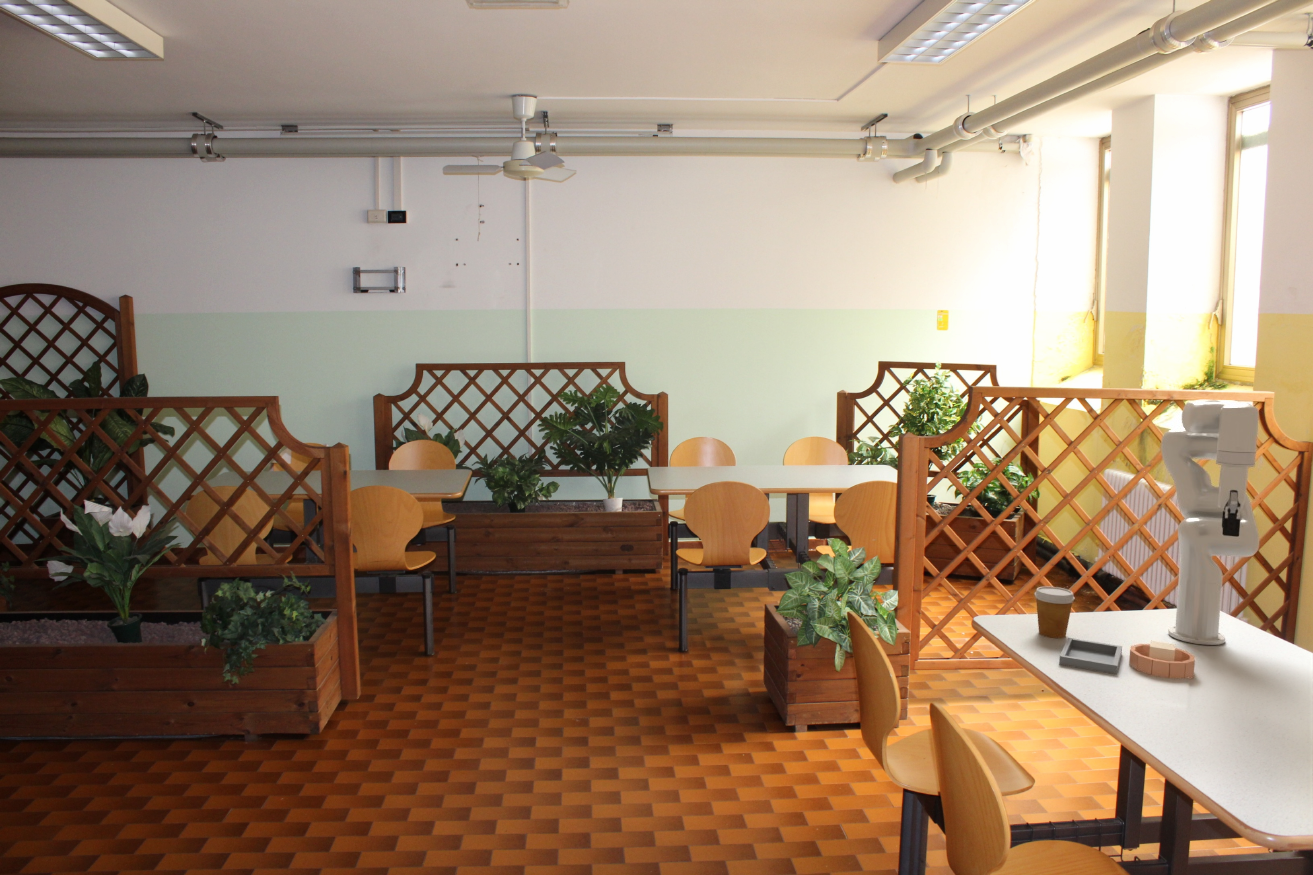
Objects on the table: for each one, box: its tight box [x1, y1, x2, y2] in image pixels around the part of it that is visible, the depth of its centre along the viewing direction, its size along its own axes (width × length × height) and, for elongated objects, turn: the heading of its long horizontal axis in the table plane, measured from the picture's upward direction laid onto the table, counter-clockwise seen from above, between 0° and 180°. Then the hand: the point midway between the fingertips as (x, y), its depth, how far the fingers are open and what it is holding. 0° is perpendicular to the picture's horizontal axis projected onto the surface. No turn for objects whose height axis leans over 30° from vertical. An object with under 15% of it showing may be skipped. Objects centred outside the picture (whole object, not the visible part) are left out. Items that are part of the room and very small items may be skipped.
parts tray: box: [1058, 637, 1123, 675], centre depth 212 cm, size 16×12×2 cm
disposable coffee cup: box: [1034, 586, 1076, 639], centre depth 230 cm, size 10×10×12 cm
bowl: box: [1128, 643, 1196, 680], centre depth 207 cm, size 13×13×4 cm
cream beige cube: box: [1149, 640, 1176, 661], centre depth 207 cm, size 5×5×5 cm
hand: (1230, 532), depth 206 cm, fingers open, 9 cm apart
